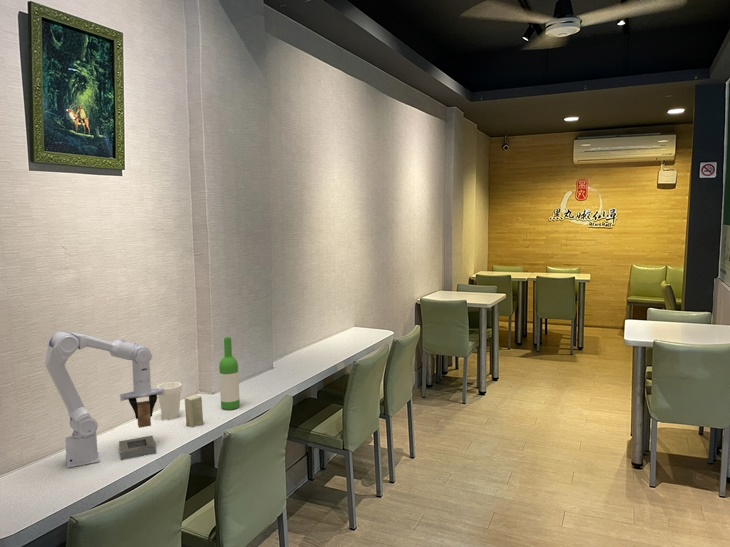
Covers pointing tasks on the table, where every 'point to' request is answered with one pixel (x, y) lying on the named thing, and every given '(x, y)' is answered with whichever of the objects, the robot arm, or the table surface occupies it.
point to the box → (193, 410)
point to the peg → (143, 414)
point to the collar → (137, 447)
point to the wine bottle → (229, 378)
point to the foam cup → (170, 399)
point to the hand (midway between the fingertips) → (143, 417)
